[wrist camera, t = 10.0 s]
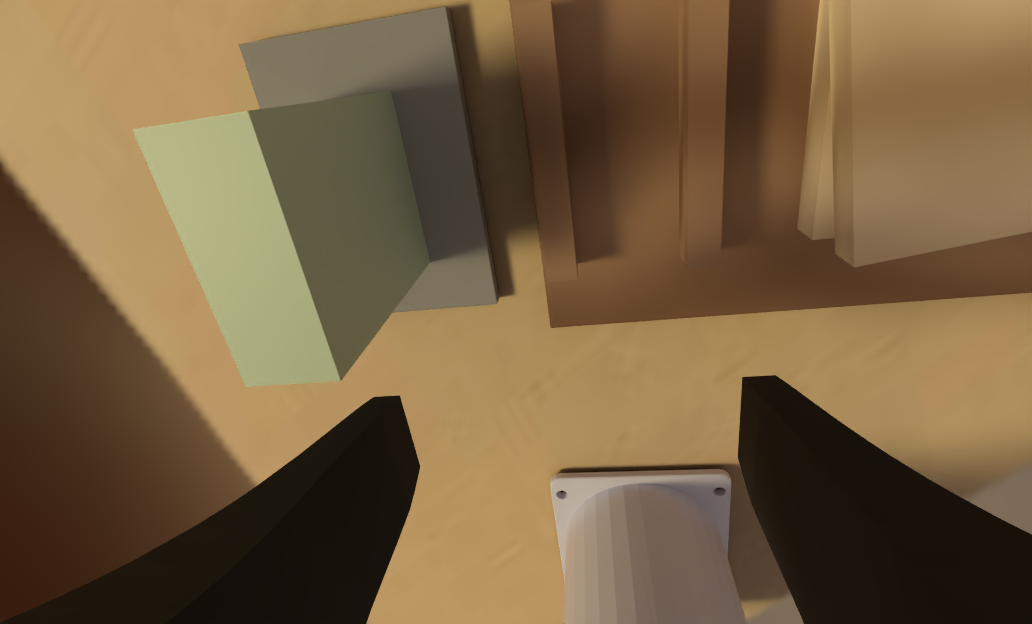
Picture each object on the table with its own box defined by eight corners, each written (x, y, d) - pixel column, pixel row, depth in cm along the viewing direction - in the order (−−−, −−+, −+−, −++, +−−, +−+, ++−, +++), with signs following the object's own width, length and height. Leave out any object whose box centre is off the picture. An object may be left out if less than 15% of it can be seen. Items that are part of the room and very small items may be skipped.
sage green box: (430, 262, 19) (340, 380, 12) (368, 268, 19) (245, 386, 12) (390, 91, 16) (247, 110, 9) (321, 102, 17) (132, 129, 10)
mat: (499, 297, 20) (496, 304, 19) (336, 311, 21) (330, 317, 21) (449, 8, 16) (445, 6, 15) (249, 45, 17) (238, 44, 16)
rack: (1076, 276, 17) (1150, 307, 15) (552, 316, 20) (548, 347, 18) (1259, -242, 12) (1420, -314, 9) (502, -83, 15) (488, -110, 12)
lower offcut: (968, 211, 16) (997, 222, 15) (797, 228, 17) (812, 239, 16) (1034, -58, 13) (1075, -69, 12) (821, -22, 14) (842, -29, 13)
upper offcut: (1024, 214, 15) (1060, 225, 13) (834, 253, 16) (854, 267, 15) (1062, -73, 12) (1110, -86, 11) (828, 0, 13) (850, -6, 12)
